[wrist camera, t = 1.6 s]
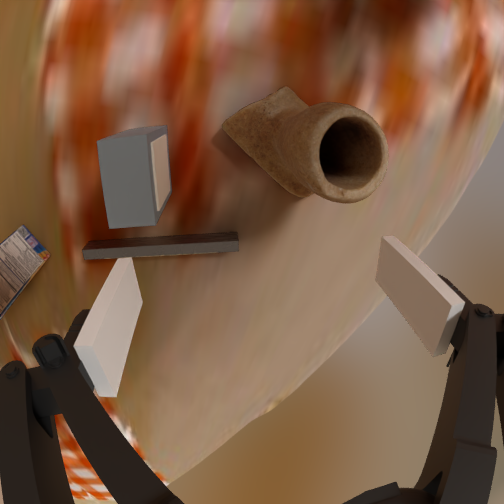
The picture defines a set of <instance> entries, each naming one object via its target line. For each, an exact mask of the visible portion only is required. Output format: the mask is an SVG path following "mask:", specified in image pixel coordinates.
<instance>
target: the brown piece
mask: <svg viewBox="0 0 504 504" xmlns="http://www.w3.org/2000/svg"><path fill="white" fill-rule="evenodd" d="M222 128H223V130H224V131H225V132H226V133H227V134H228V135H229V136H230V137H231V138H232V139H233V140H234V141H235V142H236V143H237V144H238V145H239V146H240V147H241V148H242V149H243V150H244V151H245V152H246V153H247V154H248V155H249V156H250V157H251V158H253V159H254V160H255V162H256V163H257V164H258V165H259V166H260V167H261V168H262V169H264V170H265V171H266V172H267V173H268V174H269V175H270V176H271V177H272V178H273V179H274V180H275V181H276V182H278V183H279V184H280V185H281V186H282V187H283V188H284V189H286V190H287V191H288V192H290V193H292V194H294V195H296V196H298V197H307V196H310V195H311V194H313V193H315V194H317V195H319V196H321V197H323V198H325V199H327V200H330V201H333V202H338V203H355V202H358V201H361V200H363V199H365V198H367V197H369V196H370V195H371V194H372V193H373V192H374V191H375V190H376V189H377V188H378V187H379V186H380V184H381V182H382V180H383V179H384V176H385V173H386V171H387V166H388V157H389V154H388V144H387V139H386V137H385V135H384V133H383V131H382V129H381V127H380V126H379V125H378V123H377V122H376V121H375V120H374V119H373V118H372V117H371V116H370V115H369V114H367V113H366V112H365V111H363V110H361V109H358V108H356V107H354V106H351V105H347V104H342V103H334V102H325V103H319V104H316V105H313V106H310V107H309V106H308V105H307V104H305V103H304V102H303V101H302V100H301V99H300V98H299V97H298V96H297V95H296V94H295V93H294V92H293V91H292V90H291V89H290V88H288V87H283V88H281V89H279V90H278V91H277V92H275V93H273V94H270V95H268V96H267V97H266V98H264V99H262V100H261V101H258V102H255V103H252V104H249V105H248V106H246V107H244V108H243V109H241V110H239V111H238V112H237V113H235V114H234V115H232V116H231V117H230V118H228V119H227V120H226V121H225V122H224V123H223V124H222Z"/></svg>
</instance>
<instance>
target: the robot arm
mask: <svg viewBox="0 0 504 504" xmlns="http://www.w3.org/2000/svg"><path fill="white" fill-rule="evenodd" d="M375 280H376V282H377V283H378V284H379V285H380V287H381V288H382V289H383V291H384V292H385V293H386V294H387V296H388V297H389V298H390V300H391V301H392V302H393V304H394V305H395V306H396V307H397V309H398V310H399V311H400V313H401V314H402V315H403V317H404V318H405V319H406V321H407V322H408V323H409V325H410V326H411V327H412V329H413V330H414V332H415V333H416V334H417V336H418V337H419V338H420V340H421V341H422V343H423V344H424V345H425V347H426V348H427V350H428V351H429V352H430V354H431V355H432V356H433V357H435V356H438V355H442V354H445V353H446V351H447V349H448V347H449V344H450V343H451V344H452V345H453V347H454V350H453V353H452V355H451V357H450V359H449V362H448V364H447V367H449V365H450V368H449V373H448V379H447V383H446V388H445V393H444V397H443V402H442V407H441V410H440V414H439V418H438V422H437V426H436V429H435V434H434V436H433V440H432V443H431V446H430V450H429V453H428V456H427V459H426V463H425V465H424V468H423V471H422V474H421V476H420V478H419V480H418V482H417V484H416V485H415V487H414V488H399V487H398V485H397V482H393V483H390V484H387V485H384V486H381V487H378V488H375V489H372V490H368V491H365V492H364V493H362V494H360V495H358V496H356V497H354V498H353V499H351V500H349V501H347V502H345V503H343V504H487V503H488V499H489V494H490V490H491V485H492V480H493V475H494V470H495V464H496V458H497V450H496V448H495V447H491V438H492V437H491V436H492V430H493V421H494V410H495V397H496V398H497V403H498V409H499V415H500V421H501V428H502V436H503V444H504V314H494V312H493V311H492V309H490V308H489V307H487V306H485V305H482V304H472V303H471V302H470V301H469V300H468V299H467V298H466V297H465V296H464V295H463V294H462V293H461V292H460V291H458V289H457V288H456V287H455V286H453V284H452V283H451V282H450V281H449V280H448V279H446V278H444V277H443V276H441V275H439V274H438V275H437V274H436V273H434V272H433V271H432V270H431V269H430V268H429V267H428V266H427V265H426V264H425V263H424V262H423V261H422V260H420V259H419V258H418V257H417V256H416V255H415V254H414V253H413V252H412V251H411V250H409V249H408V248H407V247H406V246H405V245H404V244H403V243H402V242H400V241H399V240H398V239H397V238H396V237H395V236H394V235H393V236H382V238H381V246H380V253H379V260H378V267H377V273H376V279H375ZM142 303H143V302H142V298H141V294H140V290H139V286H138V282H137V278H136V274H135V270H134V265H133V261H132V257H130V258H118V259H117V261H116V263H115V265H114V267H113V268H112V270H111V272H110V274H109V276H108V278H107V279H106V281H105V283H104V285H103V287H102V289H101V291H100V293H99V295H98V296H97V298H96V300H95V302H94V304H93V306H92V308H91V309H89V310H82V311H81V312H80V313H79V314H78V315H77V316H76V317H75V319H74V321H73V323H72V326H71V327H70V328H69V330H68V331H69V332H67V334H66V336H65V338H64V340H63V339H62V337H61V336H60V335H57V334H48V335H45V336H43V337H41V338H40V339H38V340H37V341H36V342H35V343H34V345H33V348H32V352H33V354H34V356H35V358H36V360H37V362H38V363H39V365H40V366H39V367H34V368H30V369H27V368H26V366H25V365H24V363H23V362H21V361H18V360H16V361H11V362H9V363H7V364H6V365H5V366H4V367H3V368H2V369H1V371H0V478H1V486H2V494H3V501H4V504H75V503H74V500H73V496H72V493H71V490H70V486H69V482H68V479H67V475H66V471H65V467H64V463H63V459H62V454H61V450H60V445H59V440H58V435H57V429H56V423H55V417H54V415H56V414H61V413H62V414H63V416H64V418H65V420H66V422H67V424H68V426H69V428H70V429H71V431H72V433H73V435H74V437H75V438H76V440H77V442H78V444H79V445H80V447H81V449H82V451H83V452H84V454H85V456H86V457H87V459H88V460H89V462H90V464H91V465H92V467H93V468H94V470H95V472H96V473H97V475H98V476H99V478H100V479H101V481H102V482H103V484H104V485H105V486H106V488H107V489H108V491H109V492H110V494H111V495H112V496H113V498H114V499H115V500H116V502H117V503H118V504H184V503H183V502H182V501H181V500H180V499H179V498H178V497H177V496H175V495H174V494H173V493H172V492H171V491H170V490H169V489H168V488H167V487H166V486H165V485H164V484H163V482H162V481H161V480H160V479H159V478H158V477H157V476H156V475H155V473H154V472H153V471H152V470H151V469H150V468H149V467H148V465H147V464H146V463H145V462H144V461H143V459H142V458H141V457H140V456H139V455H138V453H137V452H136V451H135V450H134V448H133V447H132V446H131V445H130V443H129V442H128V441H127V440H126V438H125V437H124V436H123V434H122V433H121V432H120V430H119V429H118V428H117V426H116V425H115V424H114V422H113V421H112V419H111V418H110V417H109V415H108V414H107V412H106V411H105V409H104V408H103V407H102V405H101V404H100V402H99V401H98V399H97V398H96V396H95V395H94V393H93V390H94V387H95V389H96V391H97V393H98V395H99V396H102V397H117V393H118V389H119V385H120V381H121V377H122V373H123V369H124V366H125V362H126V358H127V354H128V351H129V347H130V344H131V340H132V337H133V333H134V330H135V326H136V323H137V320H138V316H139V313H140V310H141V306H142Z"/></svg>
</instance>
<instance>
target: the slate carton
mask: <svg viewBox="0 0 504 504" xmlns="http://www.w3.org/2000/svg"><path fill="white" fill-rule="evenodd" d="M97 147H98V156H99V165H100V173H101V180H102V187H103V194H104V200H105V207H106V213H107V218H108V224H109V229H113V228H127V227H140V226H155V225H156V224H157V222H158V220H159V218H160V216H161V213H162V211H163V209H164V207H165V205H166V203H167V201H168V199H169V197H170V195H171V193H172V187H171V175H170V162H169V148H168V132H167V125H163V126H154V127H145V128H137V129H129V130H126V131H123V132H120V133H118V134H115V135H112V136H109V137H106V138H104V139H101V140H98V141H97Z"/></svg>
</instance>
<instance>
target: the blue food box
mask: <svg viewBox="0 0 504 504" xmlns="http://www.w3.org/2000/svg"><path fill="white" fill-rule="evenodd" d="M50 256H51V254H50V253H49V252H48V251H47V250H46V249H45V248H44V247H43V246H42V245H41V244H40V242H39V241H38V240H37V239H36V238H35V237H34V236H33V235H32V234H31V233H30V231H29V230H28V229H27V228H26V227H25V226H24V225H22V226H21V227H20V228H19V229H17V230H16V231H15V232H14V233H13V234H11V235H10V236H9V237H8V238H7V239H5V240H4V241H3V242H2V243H1V244H0V320H1V318H2V317H3V315H4V314H5V313H6V311H7V310H8V309H9V307H10V306H11V305H12V304H13V302H14V301H15V300H16V298H17V297H18V296H19V295H20V293H21V292H22V291H23V290H24V288H25V287H26V286H27V284H28V283H29V282H30V280H31V279H32V278H33V277H34V275H35V274H36V273H37V271H38V270H39V269H40V268H41V266H42V265H43V264H44V263H45V262H46V260H47V259H48V258H49V257H50Z"/></svg>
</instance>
